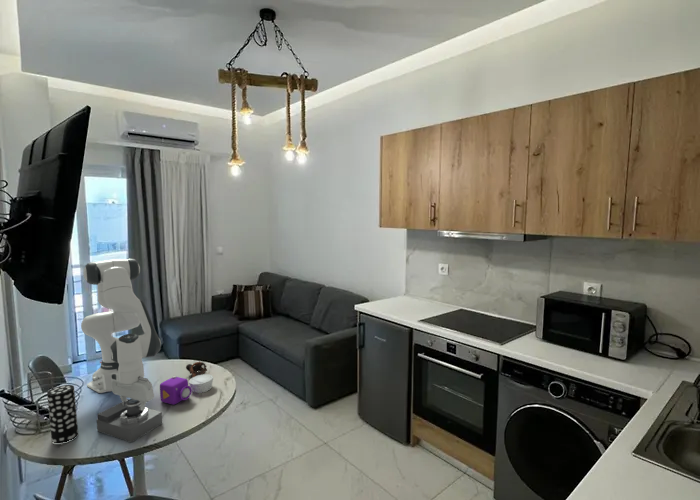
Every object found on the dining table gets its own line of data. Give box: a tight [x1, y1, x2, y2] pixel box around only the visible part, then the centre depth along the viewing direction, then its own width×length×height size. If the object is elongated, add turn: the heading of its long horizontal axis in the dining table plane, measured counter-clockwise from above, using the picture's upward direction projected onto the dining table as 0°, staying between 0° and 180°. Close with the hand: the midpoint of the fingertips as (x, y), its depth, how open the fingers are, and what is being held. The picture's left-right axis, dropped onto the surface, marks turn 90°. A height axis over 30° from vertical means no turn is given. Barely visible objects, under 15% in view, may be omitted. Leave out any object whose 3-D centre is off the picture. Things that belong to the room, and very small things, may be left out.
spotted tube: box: [46, 384, 79, 443], centre depth 146 cm, size 8×8×20 cm
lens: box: [126, 398, 141, 417], centre depth 152 cm, size 5×5×7 cm
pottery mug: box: [185, 361, 208, 378], centre depth 203 cm, size 12×10×8 cm
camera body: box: [96, 398, 163, 443], centre depth 154 cm, size 20×14×8 cm
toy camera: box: [159, 375, 193, 405], centre depth 175 cm, size 11×14×10 cm
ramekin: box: [188, 373, 214, 394], centre depth 187 cm, size 11×11×5 cm
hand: (133, 407), depth 152 cm, fingers open, 8 cm apart
